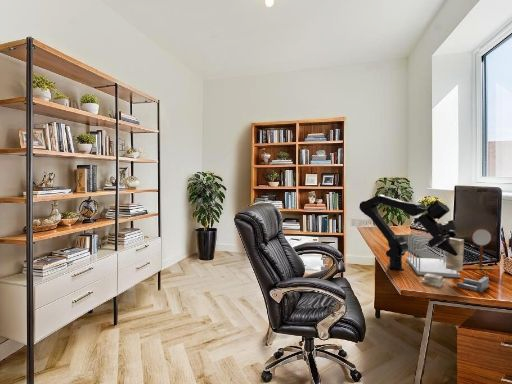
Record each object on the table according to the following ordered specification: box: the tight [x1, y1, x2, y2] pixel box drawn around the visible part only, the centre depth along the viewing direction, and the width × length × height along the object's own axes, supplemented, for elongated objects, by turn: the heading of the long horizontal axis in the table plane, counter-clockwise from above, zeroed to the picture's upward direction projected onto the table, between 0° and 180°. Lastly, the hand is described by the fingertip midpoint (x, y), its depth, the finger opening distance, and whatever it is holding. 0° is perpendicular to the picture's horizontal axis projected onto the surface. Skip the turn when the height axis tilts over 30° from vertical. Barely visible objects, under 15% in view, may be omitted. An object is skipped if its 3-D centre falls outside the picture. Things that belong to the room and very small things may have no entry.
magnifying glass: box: [470, 227, 493, 269], centre depth 146 cm, size 9×2×20 cm, turn 76°
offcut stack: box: [421, 273, 445, 288], centre depth 129 cm, size 7×5×4 cm
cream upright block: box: [445, 237, 465, 272], centre depth 129 cm, size 5×4×13 cm
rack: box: [456, 276, 490, 293], centre depth 124 cm, size 8×9×4 cm
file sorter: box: [405, 232, 461, 278], centre depth 149 cm, size 25×17×16 cm
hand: (458, 254), depth 128 cm, fingers closed on cream upright block, 4 cm apart
